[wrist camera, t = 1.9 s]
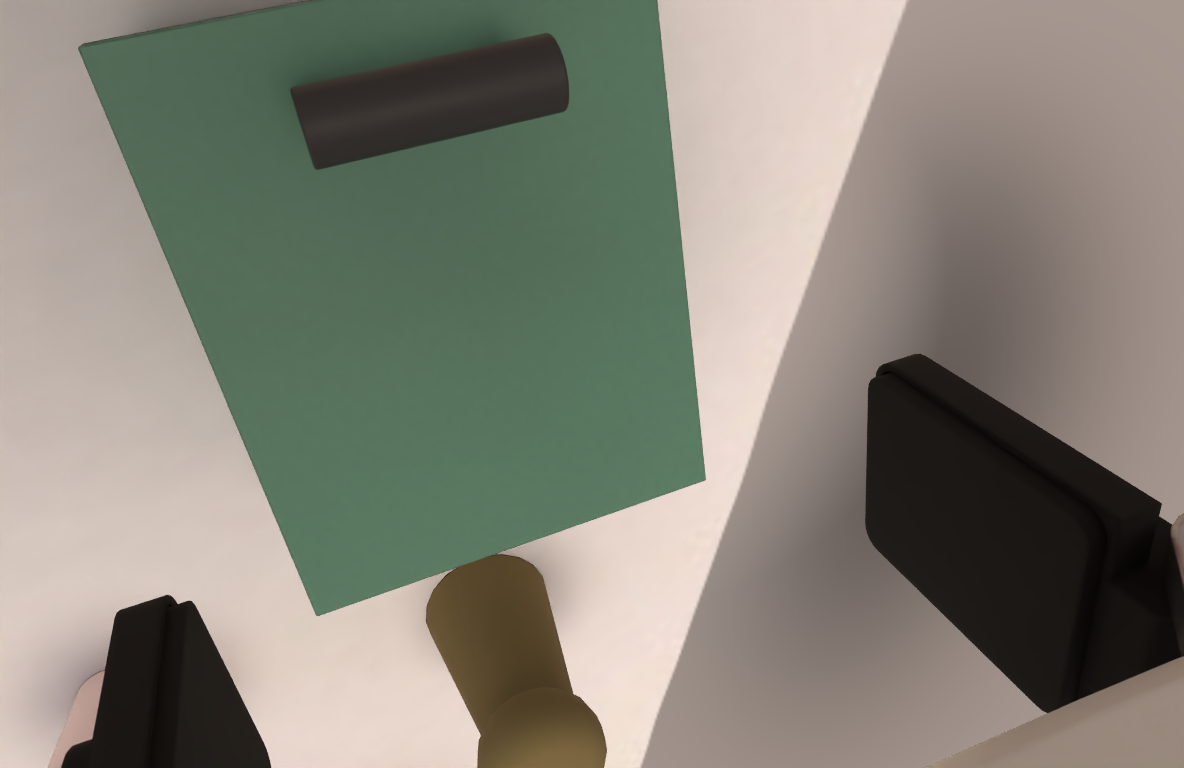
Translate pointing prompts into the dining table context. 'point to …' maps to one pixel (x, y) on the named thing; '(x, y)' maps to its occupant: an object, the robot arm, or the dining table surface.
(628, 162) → the lid
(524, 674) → the cork
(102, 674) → the smoothie
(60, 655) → the dining table surface
